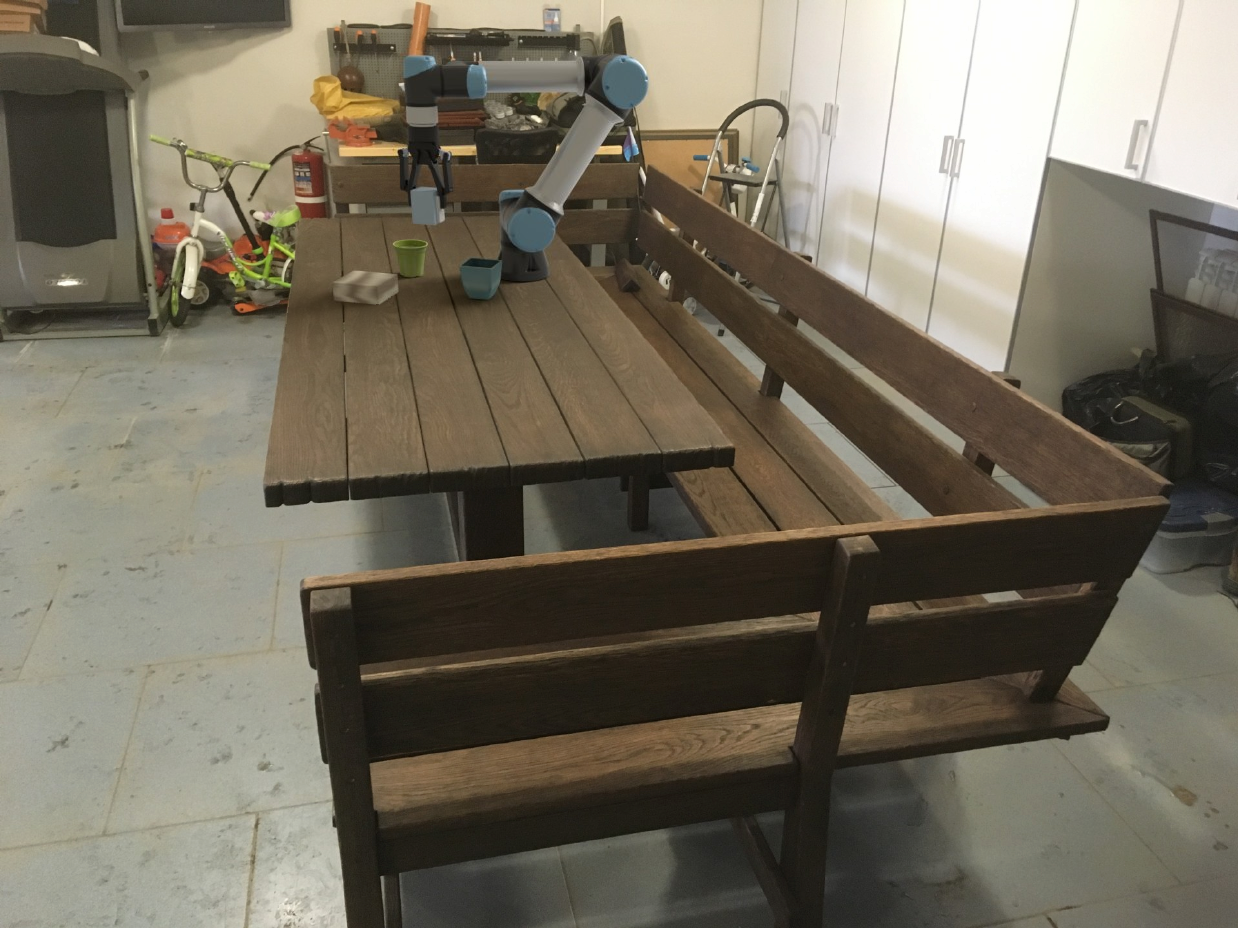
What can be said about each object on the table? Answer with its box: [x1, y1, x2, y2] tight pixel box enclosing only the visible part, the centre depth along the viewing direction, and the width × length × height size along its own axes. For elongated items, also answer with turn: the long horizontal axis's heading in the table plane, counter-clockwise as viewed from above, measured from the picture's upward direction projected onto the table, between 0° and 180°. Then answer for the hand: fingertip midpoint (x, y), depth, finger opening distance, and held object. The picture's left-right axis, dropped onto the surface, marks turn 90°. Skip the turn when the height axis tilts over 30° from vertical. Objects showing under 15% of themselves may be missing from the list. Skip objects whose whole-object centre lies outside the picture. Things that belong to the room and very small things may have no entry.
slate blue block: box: [410, 186, 446, 226], centre depth 248 cm, size 6×6×8 cm
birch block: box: [331, 270, 399, 305], centre depth 251 cm, size 12×12×5 cm
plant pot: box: [392, 239, 429, 279], centre depth 270 cm, size 9×9×9 cm
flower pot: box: [458, 257, 502, 300], centre depth 252 cm, size 9×9×9 cm
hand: (428, 220), depth 250 cm, fingers closed on slate blue block, 6 cm apart
